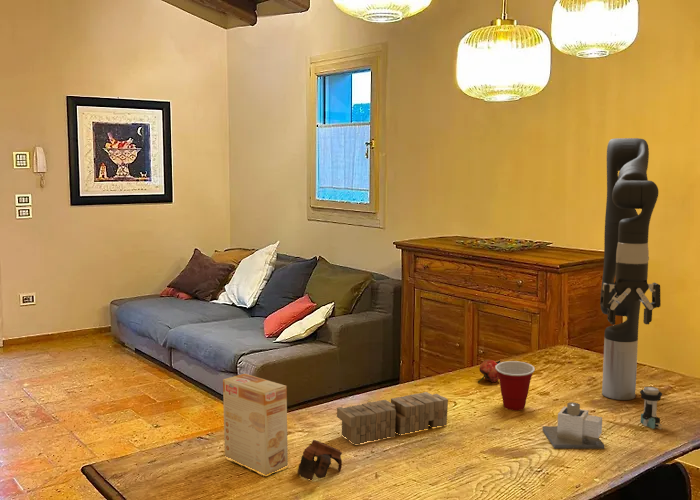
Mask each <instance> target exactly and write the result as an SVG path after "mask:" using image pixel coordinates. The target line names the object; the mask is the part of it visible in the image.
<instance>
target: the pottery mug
mask: <svg viewBox="0 0 700 500" xmlns="http://www.w3.org/2000/svg"><path fill="white" fill-rule="evenodd" d="M342 454H343V452H342V451H341V450H340V449H337V448H335V447H334V446H330V445H329V444H326V443H324V442H321V441H318V440H315V439H313V440H311V444H309V445H308V446H306V448H305V449H303V451H302V456H301V459H300V463H299V464H298V469H297V474H298V473H299V474H298V475H299V476H300V477H302V478H303V477H304V479H306V480H308V479H310V480H312V479H314V476H315V477H317V478H318V479H323V478H326V477H327V474H328V470H329V468H330V465H331V464H332V460H334V461H335V462H336V463H337V464H338V465H337V471H338V470H339V471H338V472H340V471H341V470H342V465H343V461H342V457H341V456H342ZM315 458H316V460H315ZM310 480H309V481H310ZM312 481H313V480H312Z"/></svg>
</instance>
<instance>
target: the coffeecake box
mask: <svg viewBox="0 0 700 500" xmlns="http://www.w3.org/2000/svg"><path fill="white" fill-rule="evenodd" d="M287 387H288V385H284V384H282V383H278V382H275V381H271V380H268V379H265V378H261V377H257V376H254V375H251V374H248V373H242V374H241V373H240V374H238V375H234V376H230V377H227V378H222V394H223V395H222V397H223V403H222V404H223V429H224V430H223V432H224V433H223V434H224V436H223V437H224V439H223V440H224V457H225V456H226V457H228V458H231V459H233V460H235V461H237V462H239V463H241V464H243V465H246V466H248V467H250V468H252V469H255V470H257V471H259V472H261V473H263V474H265V475H267V474H269V473H272V472H275V471H277V470H279V469H281V468H283V467H285V466H287V465H288V464H289V458H288V457H289V456H288V454H289V453H288V397H287V396H288V395H287V391H288V390H287ZM288 466H289V465H288Z"/></svg>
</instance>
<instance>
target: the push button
mask: <svg viewBox="0 0 700 500" xmlns="http://www.w3.org/2000/svg"><path fill="white" fill-rule="evenodd" d="M639 394H641V395H640V398H641V399H643V401H644V403H643V410H642V411H643V413H640V424H641V423H642V425H643V426H644V427H648V428H651V429H653V430H655V429H659V430H662V429H663V427H660V426H663V424H661V418H660V417H659V416H657V415H658V414H657V409H658V407H657V406H658V402H659V401H661V398H662V396H663V392H661V391H659V388H657V387H654V386H644V387H643V389H640V390H639Z"/></svg>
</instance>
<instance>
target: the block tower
mask: <svg viewBox="0 0 700 500" xmlns="http://www.w3.org/2000/svg"><path fill="white" fill-rule="evenodd" d="M448 403H449V399H448V398H447V397H444V396H443V395H440V394H438V393H434V394H432V393H429V392H427V391H424V392H421V393H414V394H409V395H408V394H407V395H404V396H399V397H398V396H397V397H394V398H393V397H392V398H390V401H389V400H387V399H382V400H377V401H370V402H365V403H361V404H357V405H352V406H351V405H350V406H347V407H343V406H337V408H336V417H337V418H338V419H339V420H340V421H341V436H342V435H343V436H344V437H346V438H347V439H348V440H350V441H351V442H352V443H354V444H360V443H364V442H367V441H374V440H378V439H383V438H387V437H394V436H395V437H396V433H398V434H400V435H401V434H405V433H410V432H415V431H419V430H424V429H428V430H429V426H428V425H430V426H431V427H437V426H444V425H447V424H448V408H449V407H448V405H449V404H448ZM447 426H448V425H447ZM431 427H430V428H431ZM444 427H445V426H444ZM395 432H396V433H395ZM348 440H347V441H348ZM351 442H350V443H351ZM352 443H351V444H352Z"/></svg>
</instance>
